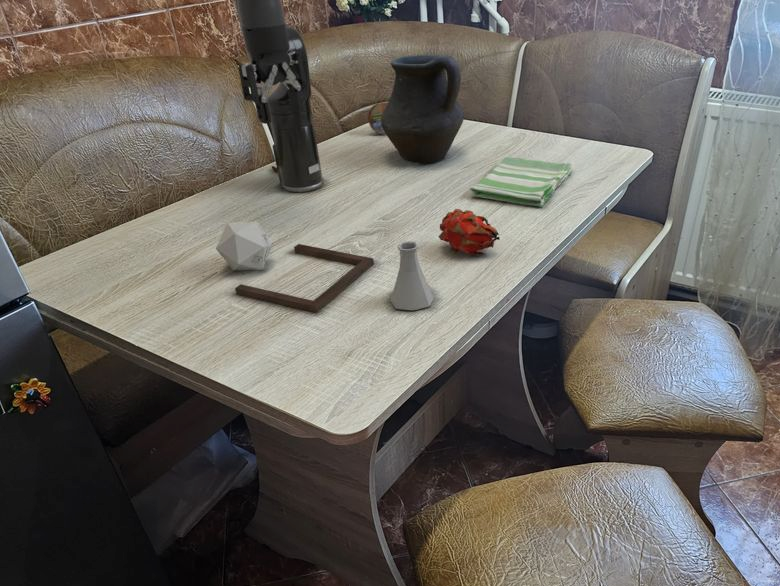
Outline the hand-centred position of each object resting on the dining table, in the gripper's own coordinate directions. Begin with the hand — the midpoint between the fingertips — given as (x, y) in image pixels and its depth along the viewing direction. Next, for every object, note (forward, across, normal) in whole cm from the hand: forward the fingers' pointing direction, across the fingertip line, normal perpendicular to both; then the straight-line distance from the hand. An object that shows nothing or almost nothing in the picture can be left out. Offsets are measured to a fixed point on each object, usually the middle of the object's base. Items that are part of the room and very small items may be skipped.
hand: (281, 117), depth 120 cm
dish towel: (+21, -37, +34) cm, 54 cm away
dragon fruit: (+21, -2, +38) cm, 44 cm away
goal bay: (+21, +20, +17) cm, 33 cm away
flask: (+22, +18, +39) cm, 48 cm away
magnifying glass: (+21, -60, -16) cm, 65 cm away
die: (+21, +20, +5) cm, 30 cm away
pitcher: (+21, -44, +4) cm, 49 cm away
